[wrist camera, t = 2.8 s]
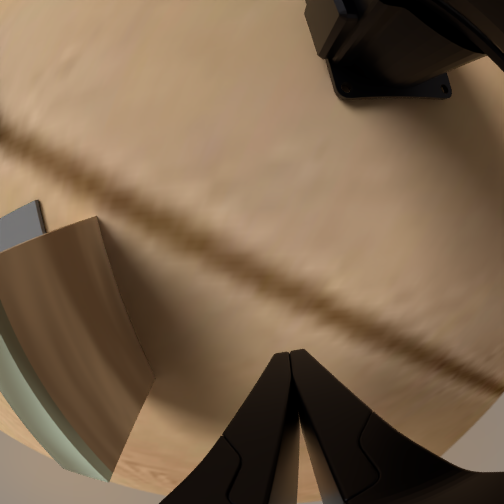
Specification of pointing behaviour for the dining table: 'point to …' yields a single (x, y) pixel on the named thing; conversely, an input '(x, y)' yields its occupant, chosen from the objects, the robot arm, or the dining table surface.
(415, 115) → the dining table surface
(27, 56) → the dining table surface
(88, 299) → the oak slab
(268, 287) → the dining table surface
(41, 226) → the rubber mat
